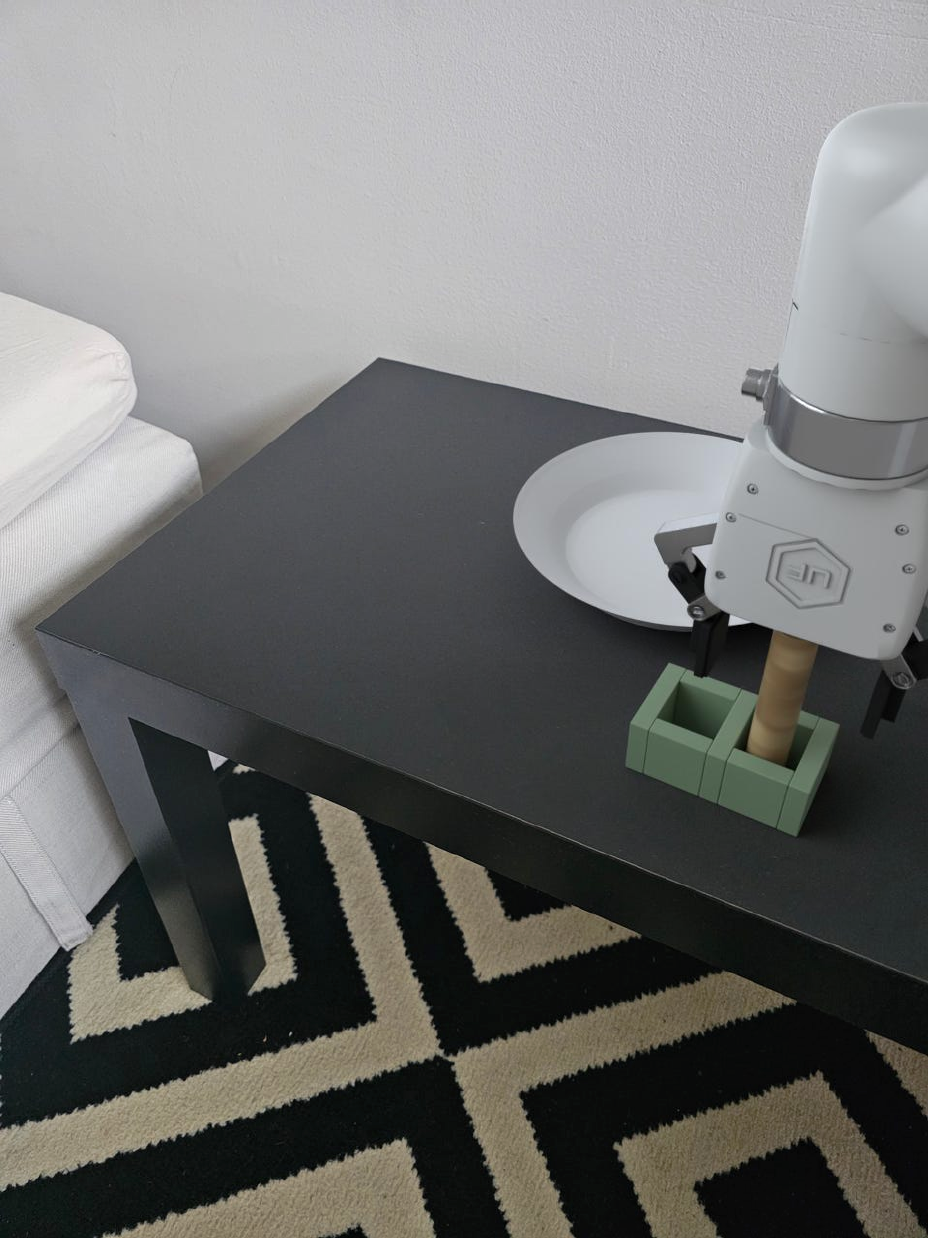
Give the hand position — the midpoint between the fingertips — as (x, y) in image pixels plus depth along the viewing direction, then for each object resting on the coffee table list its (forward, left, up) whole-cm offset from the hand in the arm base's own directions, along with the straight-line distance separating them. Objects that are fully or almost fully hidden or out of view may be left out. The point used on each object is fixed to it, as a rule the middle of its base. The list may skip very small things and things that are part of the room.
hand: (788, 690), depth 56 cm
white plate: (+14, -19, -8) cm, 24 cm away
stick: (0, 0, -8) cm, 8 cm away
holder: (+3, 0, -8) cm, 8 cm away
